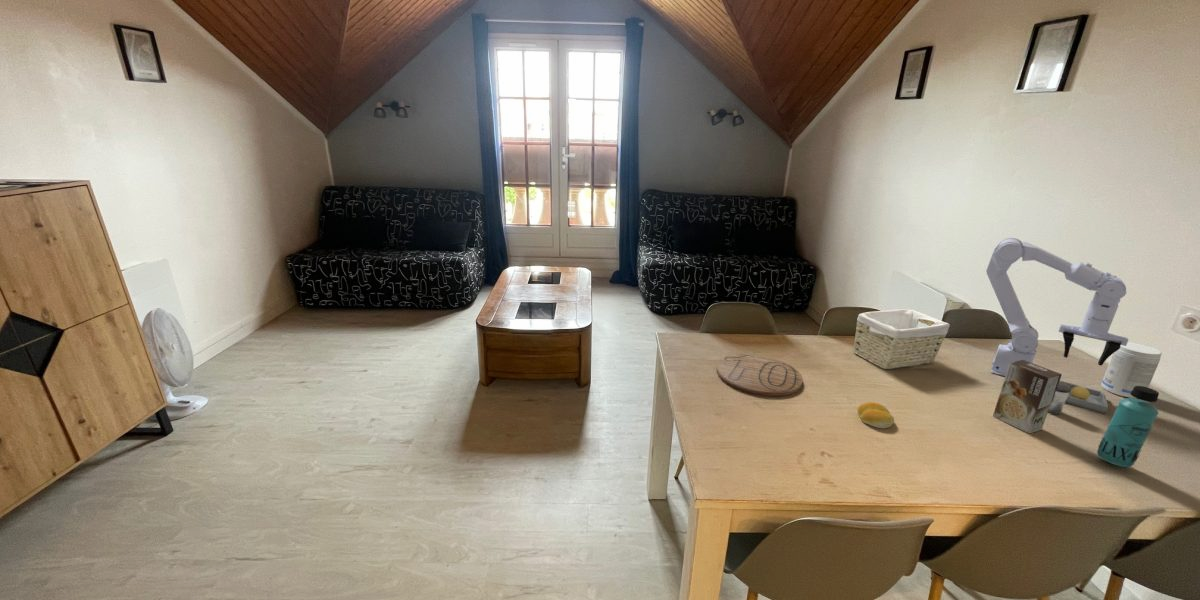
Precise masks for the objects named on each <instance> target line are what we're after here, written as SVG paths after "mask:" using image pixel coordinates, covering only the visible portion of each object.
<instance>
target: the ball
mask: <svg viewBox="0 0 1200 600" xmlns="http://www.w3.org/2000/svg"><path fill="white" fill-rule="evenodd" d="M1080 386H1081V385H1079V386H1078V387H1074V388H1073V389H1072V390H1071V396H1072V397H1075V398H1078V399H1082V400H1086V399H1088V398H1089V396H1090V393H1089V391H1088V390H1087V389H1086V388H1084V387H1085V386H1083V387H1080Z"/></svg>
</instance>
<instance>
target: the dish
mask: <svg viewBox="0 0 1200 600" xmlns="http://www.w3.org/2000/svg"><path fill="white" fill-rule="evenodd" d="M1060 382H1063V383H1066V384H1068V385H1070V386H1071V387H1072V388H1071V390H1072V389H1073V388H1074V387H1078V386H1080V387H1084V388H1086V389H1087V390H1088V391H1089V393H1090V396H1089V398H1088V399H1086V400H1082V399H1078V398H1075V397H1072V396H1071V391H1070V392H1069V394H1068V397H1067V399H1066V402H1065V404H1068V405H1069V404H1070V405H1072V406H1076V407H1080V408H1084V409H1087V410H1091V411H1094V412H1098V413H1102V414H1104V415H1105V414H1107V412H1108V409H1109V405H1108V401H1107V397H1106V393H1105V391H1102V390H1098V389H1096V388H1095V389H1094V388H1090V387H1086V386H1083V385H1079V384H1074V383H1071V382H1067V381H1063V380H1060Z"/></svg>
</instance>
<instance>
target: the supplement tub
mask: <svg viewBox="0 0 1200 600" xmlns="http://www.w3.org/2000/svg"><path fill="white" fill-rule="evenodd" d="M1120 346H1121V347H1120V349H1119V350H1117V351H1116V352H1114V353H1113V354H1112V355H1111V356H1110V360H1109V363H1108V365H1107V368H1106V370H1105V374H1104V376H1103V378H1102V381H1101V384H1100V386H1101V387H1102V388H1103V389H1104V390H1105V391H1107V392H1109V393H1112V394H1114V395H1118V396H1120V397H1125V398H1135V397H1133V396H1132V395H1131V394H1130V393H1131V391H1132V390H1133V388H1134V387H1135V386H1144V387H1148V388H1150V385H1151V383H1152V380H1153V378H1154V375H1155V372H1156V371H1157V369H1158V366H1159V363H1160V361H1161V357H1162V354H1163V353H1162V351H1160V350H1159V349H1157V348H1155V347H1152V346H1148V345H1147V344H1146V345H1145V344H1142V343H1139V342H1138V343H1136V342H1131V341H1128V342H1127V345H1126V346H1124V345H1120ZM1135 399H1136V398H1135Z"/></svg>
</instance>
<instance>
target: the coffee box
mask: <svg viewBox="0 0 1200 600" xmlns="http://www.w3.org/2000/svg"><path fill="white" fill-rule="evenodd" d="M1061 378H1062V373H1061V372H1057V371H1054V370H1052V369H1049V368H1046V367H1043V366H1041V365H1039V364H1038V365H1037V364H1035V363H1033V362H1032V363H1030V362H1028V361H1025V360H1020V361H1015V362H1014V363H1010V364H1009V367H1008V371H1007V374H1006V376H1004V381H1003V384H1002V386H1001V390H1000V392H999V395H998V399H997V402H996V403H995V404H996V406H995V408H994V411H993V414H992V417H993V418H996V419H998V420H999V421H1003V422H1004V423H1007V424H1008V425H1010V426H1013V427H1015V428H1017V429H1019V430H1021V431H1023V432H1025V433H1027V434H1033V433H1035V432H1038V431H1042V430H1043V427H1044V425H1045V421H1046V419H1047V416H1048V414H1049V413H1048V411H1049V408H1050V405H1051V403H1052V400H1053V397H1054V394H1055V392H1056V389H1057V386H1058V384H1059V381H1061Z"/></svg>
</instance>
